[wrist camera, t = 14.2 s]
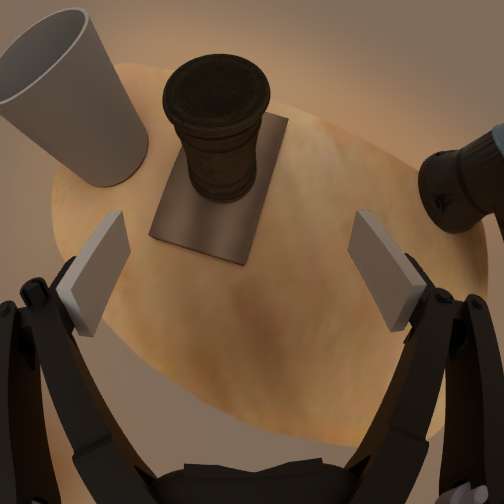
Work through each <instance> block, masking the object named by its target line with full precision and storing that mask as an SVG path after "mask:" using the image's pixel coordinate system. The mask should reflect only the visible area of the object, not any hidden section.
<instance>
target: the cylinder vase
mask: <svg viewBox="0 0 504 504" xmlns="http://www.w3.org/2000/svg"><path fill="white" fill-rule="evenodd" d="M0 115H1V116H2V117H4V118H5V119H6V120H7V121H9V122H10V123H11V124H12V125H14V126H15V127H16V128H17V129H18V130H20V131H21V132H22V133H24V134H25V135H26V136H28V137H29V138H30V139H31V140H32V141H34V142H35V143H36V144H37V145H39V146H40V147H41V148H43V149H44V150H46V151H47V152H48V153H49V154H50V155H52V156H53V157H54V158H56V159H57V160H58V161H60V162H61V163H62V164H63V165H65V166H66V167H67V168H69V169H70V170H71V171H73V172H74V173H75V174H77V175H78V176H79V177H81V178H82V179H84V180H85V181H86V182H88V183H89V184H91V185H94V186H99V187H107V186H112V185H115V184H118V183H120V182H122V181H124V180H125V179H127V178H128V177H129V176H131V175H132V174H133V173H134V172H135V171H136V169H137V168H138V167H139V166H140V164H141V163H142V161H143V159H144V157H145V154H146V151H147V146H148V136H147V132H146V129H145V127H144V126H143V124H142V122H141V120H140V118H139V116H138V114H137V112H136V110H135V108H134V106H133V104H132V103H131V101H130V99H129V97H128V95H127V93H126V91H125V89H124V87H123V85H122V83H121V81H120V79H119V77H118V75H117V73H116V71H115V69H114V67H113V65H112V63H111V61H110V59H109V57H108V55H107V53H106V51H105V49H104V46H103V44H102V42H101V40H100V38H99V36H98V34H97V32H96V30H95V28H94V26H93V23H92V21H91V19H90V17H89V15H88V13H87V11H86V10H84V9H82V8H68V9H64V10H61V11H58V12H55V13H53V14H51V15H49V16H47V17H45V18H43V19H41V20H40V21H38V22H37V23H35V24H34V25H32V26H31V27H29V28H28V29H27V30H26V31H24V32H23V33H22V34H21V35H20V36H19V37H18V38H16V39H15V40H14V41H13V42H12V43H11V44H10V45H9V47H8V48H7V49H6V50H5V51H4V52H3V54H2V55H1V56H0Z"/></svg>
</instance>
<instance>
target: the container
mask: <svg viewBox="0 0 504 504" xmlns="http://www.w3.org/2000/svg"><path fill="white" fill-rule="evenodd" d="M269 101H270V87H269V83H268V81H267V78H266V76H265V75H264V73H263V72H262V71H261V69H259V67H258V66H256V65H255V64H253V63H252V62H250V61H249V60H247V59H244V58H242V57H239V56H235V55H229V54H211V55H205V56H202V57H198V58H195V59H193V60H190V61H188V62H187V63H185V64H184V65H182V66H181V67H179V68H178V69H177V70H176V71H175V72H174V73H173V74H172V75H171V76H170V78H169V79H168V81H167V83H166V85H165V88H164V91H163V109H164V112H165V114H166V116H167V118H168V119H169V121H170V122H171V123H172V124H173V125H174V128H175V131H176V134H177V136H178V137H179V138H180V140H181V143H182V146H183V148H184V151H185V154H186V159H187V164H188V173H189V178H190V181H191V183H192V185H193V187H194V189H195V190H196V191H197V192H198V193H199V194H200V195H201V196H203V197H204V198H206V199H208V200H210V201H213V202H218V203H230V202H234V201H236V200H239V199H240V198H242V197H243V196H244V195H246V194H247V193H248V192H249V191H250V189H251V188H252V186H253V184H254V182H255V179H256V175H257V161H256V144H257V139H258V134H259V130H260V127H261V123H262V115H263V114H264V113H265V111H266V109H267V107H268V104H269Z"/></svg>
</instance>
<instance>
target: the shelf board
mask: <svg viewBox="0 0 504 504" xmlns="http://www.w3.org/2000/svg"><path fill="white" fill-rule="evenodd" d="M288 120H289V119H288V118H284V117H281V116H278V115H275V114H271V113H268V112H265V113H264V114H263V115H262V123H261V127H260V130H259V134H258V139H257V144H256V161H257V175H256V179H255V182H254V184H253V186H252V188H251V189H250V191H249V192H248V193H247V194H246V195H244V196H243V197H242V198H240V199H239V200H236V201H234V202H230V203H218V202H213V201H210V200H208V199H206V198H204V197H203V196H201V195H200V194H199V193H198V192H197V191H196V190H195V189H194V187H193V185H192V183H191V181H190V178H189V173H188V164H187V159H186V154H185V151H184V148H183V146H182V147H181V149H180V152H179V154H178V157H177V159H176V161H175V164H174V166H173V169H172V171H171V174H170V176H169V179H168V182H167V184H166V187H165V189H164V192H163V195H162V197H161V200H160V203H159V206H158V208H157V211H156V214H155V217H154V220H153V223H152V226H151V229H150V232H149V236H151V237H153V238H154V239H157V240H161V241H164V242H167V243H170V244H173V245H177V246H180V247H183V248H186V249H190V250H193V251H196V252H199V253H203V254H206V255H209V256H212V257H216V258H219V259H222V260H225V261H229V262H232V263H235V264H239V265H242V266H244V265H245V263H246V260H247V256H248V253H249V250H250V246H251V243H252V240H253V236H254V233H255V230H256V226H257V223H258V219H259V216H260V213H261V209H262V206H263V203H264V199H265V196H266V193H267V189H268V186H269V183H270V180H271V176H272V173H273V170H274V166H275V163H276V160H277V156H278V153H279V150H280V146H281V143H282V140H283V136H284V133H285V130H286V126H287V123H288Z"/></svg>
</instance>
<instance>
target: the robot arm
mask: <svg viewBox="0 0 504 504" xmlns="http://www.w3.org/2000/svg"><path fill="white" fill-rule="evenodd" d="M419 190H420V195H421V199H422V202H423V204H424V206H425V209H426V211H427V212H428V214H429V216H430V217H431V219H432V220H433V221H434V222H435V224H436V225H437V226H439V227H440V228H441V229H442V230H444V231H446V232H448V233H452V234H457V233H461V232H465V231H468V230H470V229H471V228H472V227H473V226H474V225H475V224H476V223H477V222H479V221H480V220H481V219H482V218H483V217H485V216H486V215H488V214H491V213H494V214H495V217H496V219H497V222H498V225H499V228H500V232H501V235H502V238H503V241H504V123H502V124H501V125H496V126H495V127H493V129H492V130H491V131H490V132H488V133H487V134H485V135H483V136H482V137H480V138H478V139H477V140H475V141H474V142H471V143H470V144H468V145H467V146H465V147H463V148H462V149H460V150H451V151H442V152H437V153H435V154H433V155H431V156H430V157H428V158H427V159H426V160H425V161H424V162H423V164H422V166H421V168H420V171H419ZM348 252H349V253H350V255H351V257H352V259H353V261H354V262H355V264H356V266H357V268H358V270H359V272H360V273H361V275H362V277H363V279H364V281H365V283H366V285H367V287H368V288H369V290H370V292H371V294H372V296H373V298H374V300H375V302H376V304H377V306H378V308H379V310H380V312H381V314H382V316H383V318H384V320H385V322H386V324H387V326H388V328H389V330H390V332H396V331H402V330H404V329H405V327H406V325H407V323H408V322H410V324H411V326H412V328H411V330H410V332H409V333H408V335H407V337H406V339H405V340H404V342H403V343H404V344H405V346H404V349H403V351H402V354H401V357H400V360H399V362H398V365H397V367H396V370H395V372H394V375H393V377H392V380H391V382H390V385H389V387H388V389H387V392H386V394H385V396H384V398H383V400H382V403H381V405H380V407H379V409H378V411H377V413H376V415H375V417H374V419H373V421H372V423H371V425H370V427H369V429H368V431H367V433H366V435H365V437H364V439H363V440H362V442H361V444H360V446H359V448H358V449H357V451H356V452H355V454H354V455H353V456H352V457H351V459H350V460H349V461H348V463H347V464H346V466H345V467H344V468H342V467H339V466H335V465H330V464H324V463H323V462H322V458H316V459H309V460H302V461H294V462H288V463H285V464H282V465H279V466H276V467H273V468H269V469H266V470H263V471H259V472H247V471H242V470H237V469H233V468H228V467H224V466H220V465H200V464H184V469H182V470H177V471H174V472H170V473H168V474H165V475H163V476H161V477H159V478H157V477H156V476H155V474H154V473H153V472H152V471H151V470H150V468H149V467H148V466H147V465H146V464H145V463H144V462H143V460H142V459H141V458H140V457H139V456H138V454H137V453H136V451H135V450H134V448H133V447H132V445H131V444H130V442H129V441H128V439H127V438H126V436H125V435H124V433H123V431H122V430H121V428H120V427H119V425H118V423H117V422H116V420H115V418H114V417H113V415H112V413H111V412H110V410H109V408H108V407H107V405H106V403H105V401H104V399H103V398H102V395H101V394H100V392H99V390H98V388H97V386H96V384H95V382H94V380H93V378H92V376H91V374H90V372H89V370H88V368H87V366H86V364H85V362H84V359H83V357H82V355H81V353H80V350H79V348H78V346H77V343H76V341H75V339H74V337H73V335H72V332H73V329H74V327H75V328H76V330H77V332H78V334H79V336H87V337H94V334H95V332H96V329H97V327H98V324H99V322H100V319H101V317H102V314H103V312H104V310H105V307H106V305H107V302H108V300H109V298H110V296H111V293H112V291H113V289H114V287H115V284H116V282H117V280H118V278H119V276H120V273H121V271H122V269H123V267H124V265H125V263H126V261H127V259H128V257H129V255H130V253H131V250H130V246H129V241H128V237H127V232H126V227H125V223H124V218H123V212H122V210H121V211H110V212H109V213H108V215H107V216H106V217H105V218H104V220H103V221H102V222H101V224H100V225H99V226H98V228H97V229H96V230H95V232H94V233H93V234H92V236H91V237H90V238H89V240H88V241H87V243H86V244H85V245H84V247H83V248H82V250H81V251H80V253H79V254H78V255H77V256H73V257H72V258H71V259H69V260H68V261H67V262H66V263H65V264H64V266H63V267H62V269H61V271H60V272H59V273H58V276H56V278H55V280H54V281H53V282H52V284H51V286H50V287H49V288H48V286H47V284H46V282H45V280H44V279H43V278H41V277H38V278H33V279H31V280H29V281H28V282H26V283H25V284H24V285H23V286H22V288H21V290H20V295H21V297H22V299H23V301H24V303H25V305H26V306H27V307H23V308H17V306H16V305H15V303H14V302H13V301H5V302H3V303H1V304H0V504H61V497H60V493H59V489H58V485H57V481H56V477H55V473H54V469H53V465H52V460H51V456H50V451H49V446H48V440H47V434H46V428H45V421H44V412H43V403H42V392H41V375H40V364H41V368H42V371H43V374H44V377H45V380H46V384H47V387H48V390H49V393H50V395H51V398H52V401H53V404H54V406H55V409H56V411H57V414H58V416H59V419H60V421H61V424H62V426H63V428H64V431H65V433H66V435H67V437H68V439H69V442H70V444H71V446H72V448H73V450H74V455H73V456H72V459H73V463H74V465H75V467H76V469H77V471H78V473H79V475H80V477H81V478H82V480H83V482H84V484H85V485H86V487H87V489H88V490H89V492H90V493H91V495H92V497H93V499H94V500H95V502H96V503H97V504H405V502H406V500H407V498H408V496H409V494H410V492H411V490H412V488H413V486H414V484H415V481H416V479H417V477H418V475H419V472H420V470H421V467H422V465H423V462H424V460H425V457H426V455H427V452H428V448H429V442H428V441H426V434H427V431H428V428H429V425H430V422H431V419H432V416H433V412H434V409H435V406H436V402H437V398H438V395H439V391H440V387H441V383H442V379H443V374H444V370H445V377H446V410H445V431H444V444H443V454H442V461H441V469H440V478H439V497H438V499H437V500H436V502H435V504H504V373H503V367H502V362H501V357H500V352H499V347H498V343H497V339H496V335H495V331H494V327H493V323H492V319H491V316H490V312H489V309H488V306H487V304H486V302H485V301H484V300H483V298H481V297H480V296H478V295H475V294H469V295H468V296H467V298H466V300H465V301H464V302H462V301H457V300H454V298H453V296H452V295H451V294H450V293H449V292H448V291H446V290H445V289H442V288H436V287H435V286H434V284H433V283H432V281H431V280H430V279H429V277H428V276H427V275H426V273H425V272H423V269H422V268H421V267H419V264H418V263H417V262H416V260H415V259H414V258H413V257H411V256H410V255H409V254H407V253H403V252H402V250H401V249H400V248H399V247H398V245H397V244H396V243H395V242H394V240H393V239H392V238H391V237H390V235H389V234H388V233H387V232H386V230H385V229H384V228H383V227H382V226H381V224H380V223H379V222H378V221H377V220H376V218H375V217H374V216H373V215H372V214H371V213H370V211H369V210H357V211H356V216H355V221H354V225H353V230H352V234H351V239H350V243H349V247H348Z"/></svg>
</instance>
